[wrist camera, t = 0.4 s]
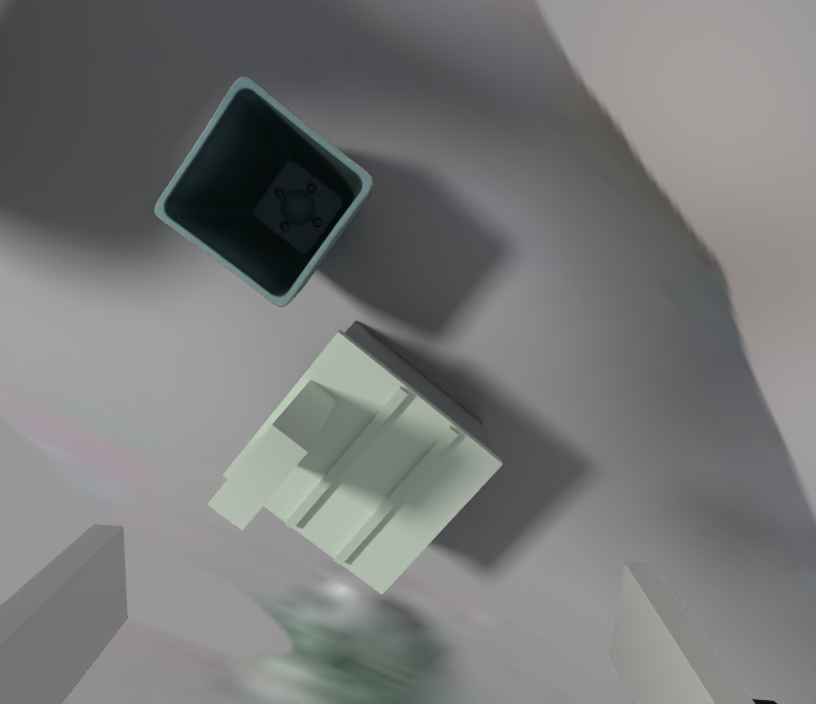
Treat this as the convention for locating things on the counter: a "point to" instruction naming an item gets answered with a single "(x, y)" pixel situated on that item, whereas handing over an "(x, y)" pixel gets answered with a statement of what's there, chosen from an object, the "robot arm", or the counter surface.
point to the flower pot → (263, 193)
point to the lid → (357, 465)
